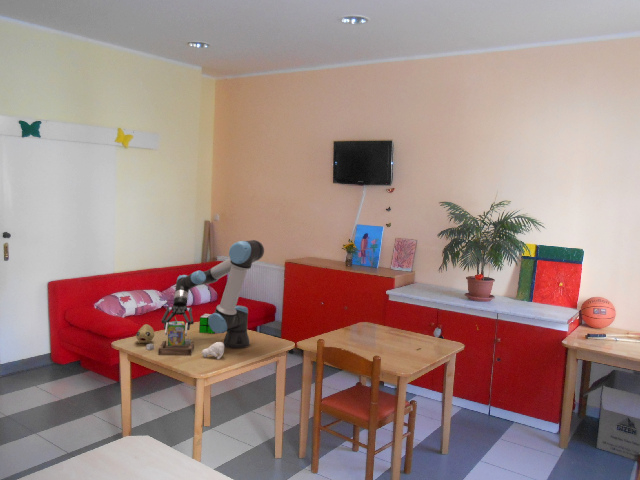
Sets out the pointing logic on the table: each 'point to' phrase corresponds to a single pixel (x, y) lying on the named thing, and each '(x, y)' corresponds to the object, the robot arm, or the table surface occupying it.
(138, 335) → the tan toy creature
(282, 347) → the table surface
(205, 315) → the puzzle cube
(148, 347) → the grey clip
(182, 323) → the chalk box
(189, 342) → the grey clip
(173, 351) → the brown tray holder
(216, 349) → the white lumpy piece
